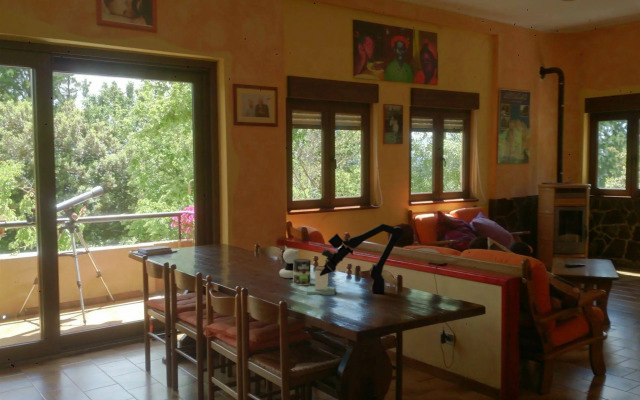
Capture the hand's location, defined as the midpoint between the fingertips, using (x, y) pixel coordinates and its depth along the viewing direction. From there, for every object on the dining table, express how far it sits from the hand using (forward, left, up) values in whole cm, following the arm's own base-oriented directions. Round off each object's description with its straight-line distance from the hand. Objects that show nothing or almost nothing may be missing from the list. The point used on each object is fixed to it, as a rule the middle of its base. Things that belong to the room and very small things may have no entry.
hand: (320, 273), depth 323 cm
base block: (-1, 0, -11) cm, 11 cm away
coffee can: (+11, -20, -10) cm, 25 cm away
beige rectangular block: (-1, 0, -9) cm, 9 cm away
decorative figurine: (+19, -40, -10) cm, 46 cm away
